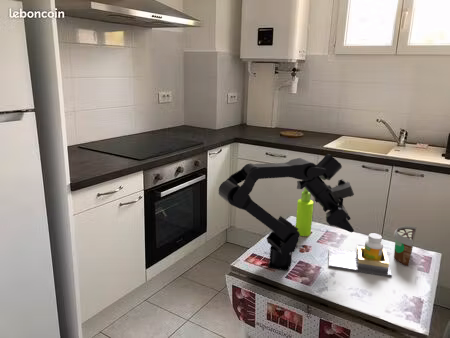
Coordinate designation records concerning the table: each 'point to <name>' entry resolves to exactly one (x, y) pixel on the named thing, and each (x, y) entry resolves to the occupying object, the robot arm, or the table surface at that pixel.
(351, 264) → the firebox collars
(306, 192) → the soap dispenser
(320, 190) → the robot arm
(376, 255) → the supplement bottle
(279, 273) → the table surface
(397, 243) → the food container
